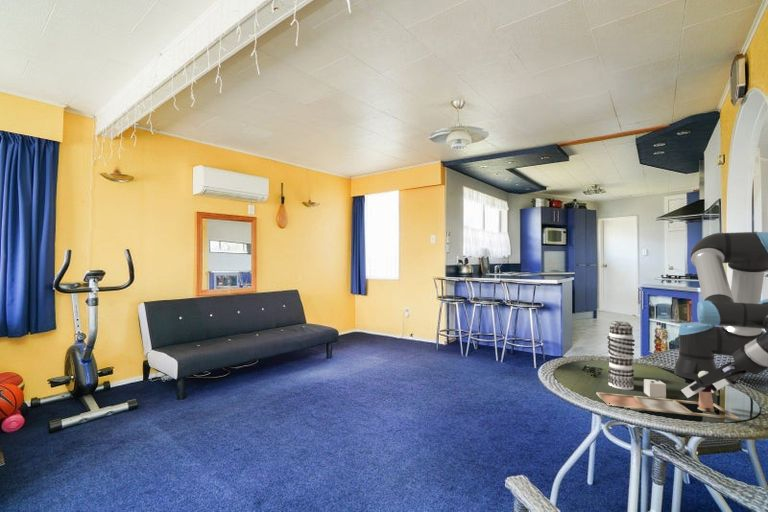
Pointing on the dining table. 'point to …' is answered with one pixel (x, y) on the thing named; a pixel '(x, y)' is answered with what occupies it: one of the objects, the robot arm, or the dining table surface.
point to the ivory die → (655, 388)
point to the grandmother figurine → (706, 396)
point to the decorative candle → (621, 355)
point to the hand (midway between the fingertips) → (697, 391)
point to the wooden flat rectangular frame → (657, 405)
